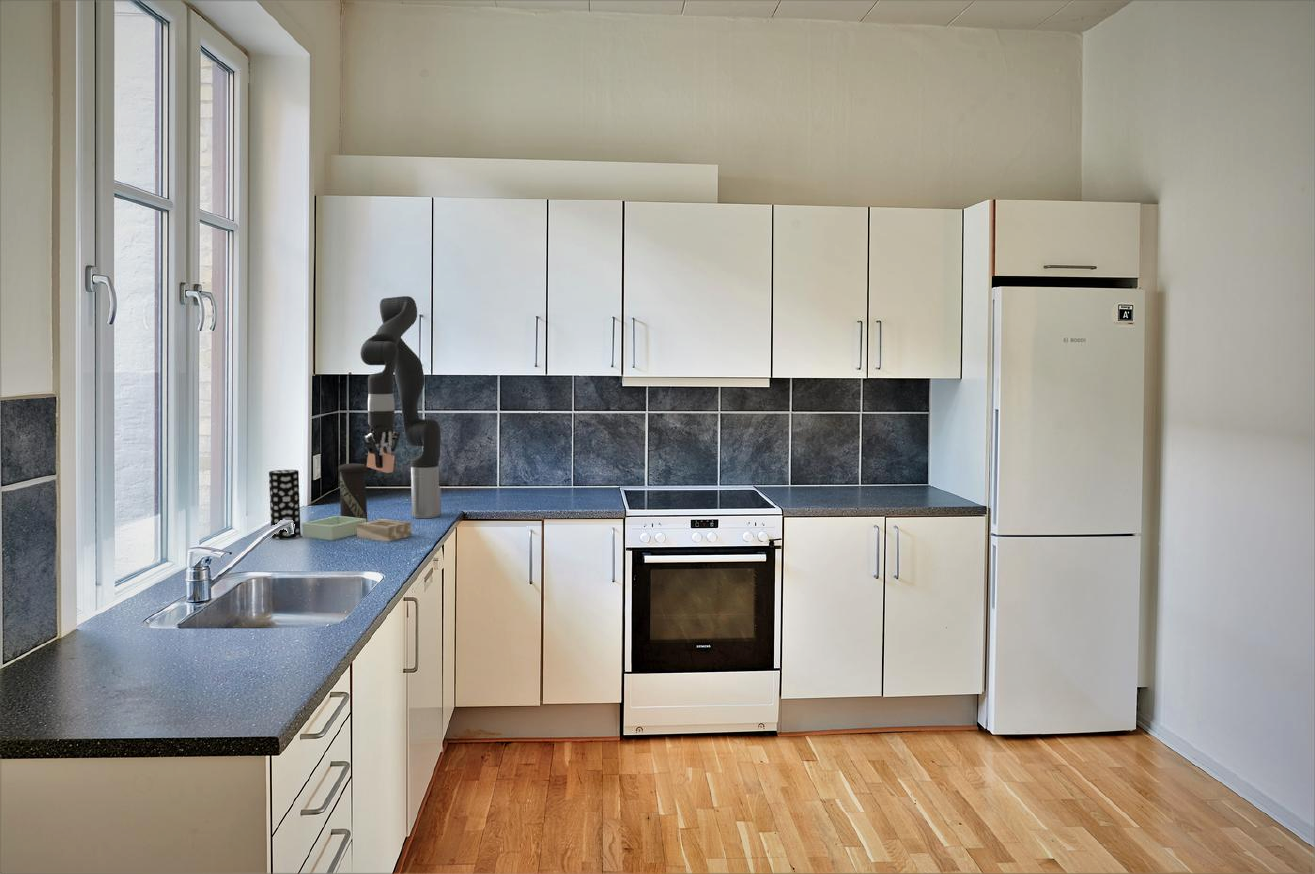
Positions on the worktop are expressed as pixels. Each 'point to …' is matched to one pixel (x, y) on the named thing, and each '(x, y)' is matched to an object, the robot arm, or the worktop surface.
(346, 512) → the container
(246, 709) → the worktop surface
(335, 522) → the bin
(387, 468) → the salmon orange block
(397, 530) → the brown hollow flat block
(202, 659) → the worktop surface
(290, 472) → the spotted tube
